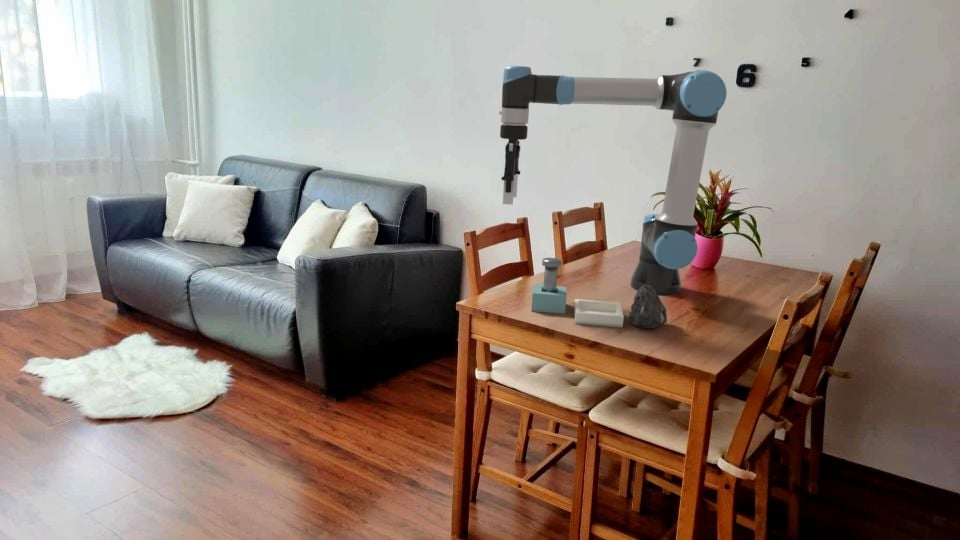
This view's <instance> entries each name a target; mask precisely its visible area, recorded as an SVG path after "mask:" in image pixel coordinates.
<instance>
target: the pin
mask: <svg viewBox="0 0 960 540" xmlns="http://www.w3.org/2000/svg"><path fill="white" fill-rule="evenodd" d="M562 262H563V261H562V259H559V258H556V257H543V258H542V262H541V264H542V266H543V267H544V271H543V272H544V273H543V284H542V285H543V292H554V293H556V289H557V286H558V275H559V268H561V267H562Z"/></svg>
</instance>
